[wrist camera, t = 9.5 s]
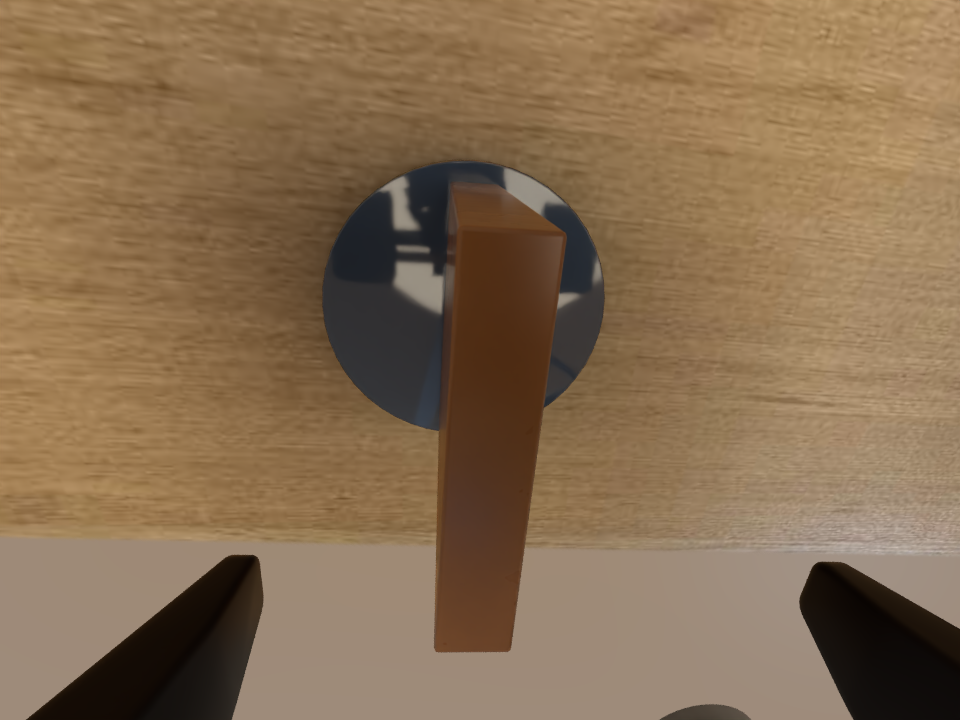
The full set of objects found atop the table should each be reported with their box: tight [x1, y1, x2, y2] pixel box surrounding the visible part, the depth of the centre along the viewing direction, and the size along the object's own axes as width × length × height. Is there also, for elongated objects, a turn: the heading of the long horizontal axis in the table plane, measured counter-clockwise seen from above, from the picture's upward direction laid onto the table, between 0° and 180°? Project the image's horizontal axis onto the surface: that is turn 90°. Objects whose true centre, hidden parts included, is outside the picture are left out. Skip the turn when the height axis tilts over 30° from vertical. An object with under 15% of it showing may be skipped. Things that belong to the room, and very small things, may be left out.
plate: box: [322, 160, 605, 431], centre depth 19 cm, size 10×10×1 cm
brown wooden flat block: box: [434, 181, 567, 652], centre depth 13 cm, size 2×9×10 cm, turn 176°
